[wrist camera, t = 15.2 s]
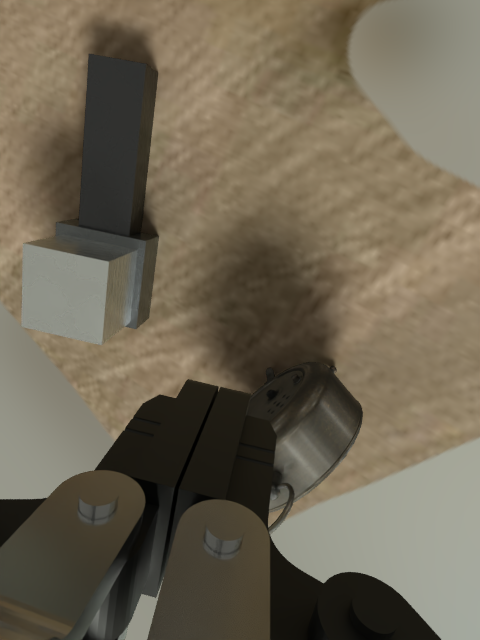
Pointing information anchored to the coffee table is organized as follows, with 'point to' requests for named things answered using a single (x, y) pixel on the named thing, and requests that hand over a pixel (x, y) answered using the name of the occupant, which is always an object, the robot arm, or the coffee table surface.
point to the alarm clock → (305, 429)
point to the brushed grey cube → (77, 287)
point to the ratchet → (118, 167)
